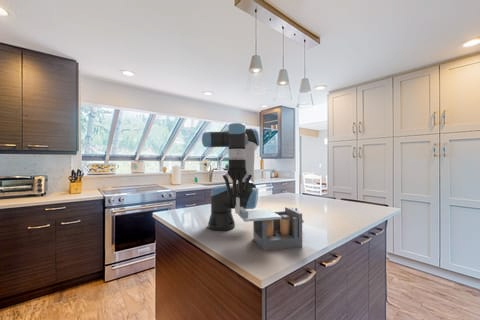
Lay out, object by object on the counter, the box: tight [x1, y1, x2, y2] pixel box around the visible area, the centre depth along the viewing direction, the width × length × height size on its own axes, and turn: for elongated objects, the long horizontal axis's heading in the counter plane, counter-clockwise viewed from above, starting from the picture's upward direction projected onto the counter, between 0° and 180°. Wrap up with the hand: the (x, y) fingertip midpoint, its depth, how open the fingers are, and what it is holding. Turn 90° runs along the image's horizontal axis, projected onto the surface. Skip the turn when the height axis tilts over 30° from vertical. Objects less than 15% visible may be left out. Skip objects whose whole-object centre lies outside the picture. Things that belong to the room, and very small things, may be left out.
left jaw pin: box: [266, 220, 273, 237], centre depth 99 cm, size 4×4×12 cm
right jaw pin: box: [280, 215, 290, 236], centre depth 101 cm, size 4×4×12 cm
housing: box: [252, 206, 303, 252], centre depth 100 cm, size 14×18×14 cm
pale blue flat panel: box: [237, 207, 281, 223], centre depth 98 cm, size 14×16×4 cm
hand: (237, 212), depth 95 cm, fingers closed
